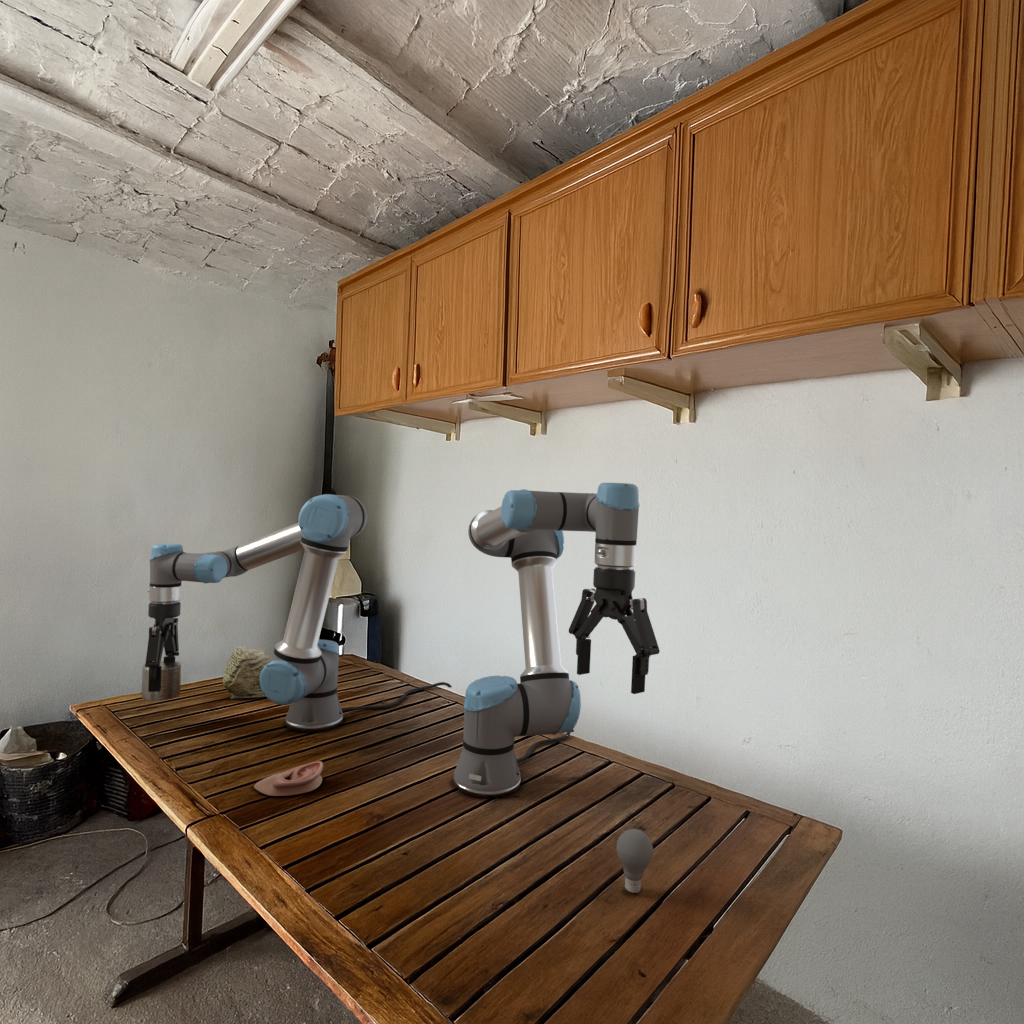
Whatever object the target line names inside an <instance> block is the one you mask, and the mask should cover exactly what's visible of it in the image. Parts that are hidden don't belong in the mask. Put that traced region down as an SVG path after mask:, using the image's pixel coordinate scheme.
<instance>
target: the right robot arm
mask: <svg viewBox="0 0 1024 1024" xmlns="http://www.w3.org/2000/svg"><path fill="white" fill-rule="evenodd" d="M639 493H640V491H639V487H638V486H637V485H636V484H634V483H628V482H627V483H625V482H601V483H599V485H598V486H597V493H593V492H591V493H589V492H568V491H567V492H566V491H565V492H564V491H545V490H544V491H543V490H542V491H541V490H528V489H512V490H511V489H510V490H508V491H506V492H505V494H504V497H503V498H502V501H501V505H500V506H499V507H497V508H495V509H493V510H492V509H487V510H483V511H480V512H479V513H477V514H476V515H475V516H474V517H473V518H472V519H471V521H470V523H469V525H468V533H467V534H468V539H469V540H470V543H471V544H472V546H473V547H474V548H475V549H477V551H478V552H481V553H483V554H484V555H487V556H491V557H495V558H507V559H508V558H510V561H511V567H512V568H513V569H514V570H515V571H517V573H518V587H519V598H520V599H519V600H520V611H521V612H520V613H521V624H522V625H521V626H522V627H521V628H522V637H523V638H522V639H523V650H524V664H525V668H524V670H523V671H522V673H521V674H520V675H519V681H520V683H518V682H517V680H516V678H514V677H512V676H509V675H502V676H501V675H489V676H485V677H484V676H483V677H481V678H478V679H475V680H474V681H473V682H471V683H469V684H468V685H467V687H466V689H465V693H464V694H465V695H464V703H463V710H464V712H463V730H462V731H463V733H462V735H463V736H462V749H461V752H460V754H459V758H458V761H457V764H456V767H455V768H454V771H453V780H452V783H453V786H454V787H455V789H457V790H458V792H461V793H463V794H464V795H468V796H471V797H475V798H483V799H484V798H485V799H489V798H490V799H493V798H494V799H495V798H502V797H506V796H509V795H511V794H514V793H515V792H517V791H518V790H519V788H520V787H521V781H522V780H521V779H522V777H521V771H520V767H519V763H522V762H523V761H526V760H527V759H528V758H529V757H530V756H531V754H532V752H533V750H534V749H535V748H536V747H539V746H541V745H544V744H549V743H551V744H552V743H557V742H561V741H565V740H566V739H568V738H569V737H570V735H571V733H574V732H575V729H574V728H575V727H576V726H577V723H578V720H579V718H580V714H581V706H582V699H581V697H582V696H581V691H580V688H579V685H578V683H577V682H576V681H574V680H572V679H570V674H569V673H570V672H569V671H568V670H567V669H566V668H564V667H563V665H562V656H561V646H560V635H559V627H558V613H557V606H556V605H557V604H556V594H555V584H554V583H555V582H554V574H553V573H554V572H553V569H554V568H555V566H556V565H557V564H558V559H559V558H561V556H562V555H563V552H564V548H565V546H564V544H565V536H564V532H589V533H591V532H592V533H595V539H594V542H595V543H594V562H593V563H594V564H595V565H596V566H595V567H594V568H593V578H592V579H593V580H592V584H593V585H592V586H593V587H594V588H584V589H583V590H581V599H580V602H579V604H578V606H577V609H576V611H575V613H574V616H573V618H572V621H571V623H570V626H569V627H568V633H569V634H570V635H573V636H574V638H575V639H576V643H575V654H576V656H577V661H576V675H578V676H582V675H587V674H590V673H591V655H592V654H591V652H592V639H591V636H590V635H591V634H592V633H593V631H594V630H595V629H596V627H597V626H598V624H600V622H601V621H602V619H603V618H609V619H611V620H614V621H616V620H617V623H619V624H620V625H621V626H622V629H623V630H624V632H625V635H626V636H627V638H628V640H629V642H630V644H631V646H632V648H633V650H634V652H635V655H632V660H631V661H632V664H631V683H630V684H631V686H630V694H633V695H637V694H641V693H645V692H646V691H645V689H646V676H647V675H649V668H650V667H649V666H650V657H652V656H655V655H659V654H660V651H661V650H660V647H659V644H658V640H657V638H656V635H655V632H654V628H653V625H652V622H651V619H650V616H649V612H648V600H647V598H645V597H641V598H633V591H634V589H635V587H636V571H635V569H633V568H634V567H636V566H637V542H638V541H637V540H638V525H639V510H640V502H639V501H640V500H639ZM558 734H564V735H562V736H558V737H553V738H546V739H541V740H538V741H535V742H534V743H532V744H531V745H530V746H529V748H528V750H527V752H526V753H525V754H524V755H522V756H520V757H517V756H516V752H515V738H517V737H533V736H546V735H553V736H555V735H558ZM566 735H568V736H566Z"/></svg>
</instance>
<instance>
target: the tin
mask: <svg viewBox="0 0 1024 1024" xmlns="http://www.w3.org/2000/svg"><path fill="white" fill-rule="evenodd" d="M160 666H162V667H161V691H160V692H148V685H149V667H145V664H143V665H142V668H141V669H142V671H141V672H142V674H141V696H140V697H141V699H142V700H145V701H148V702H159V701H166V700H171V699H175V698H177V697H179V696H180V695H181V683H182V682H181V681H182V679H181V678H182V676H181V675H182V662H179V661H177V660H175V661H164V660H161V662H160Z"/></svg>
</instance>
